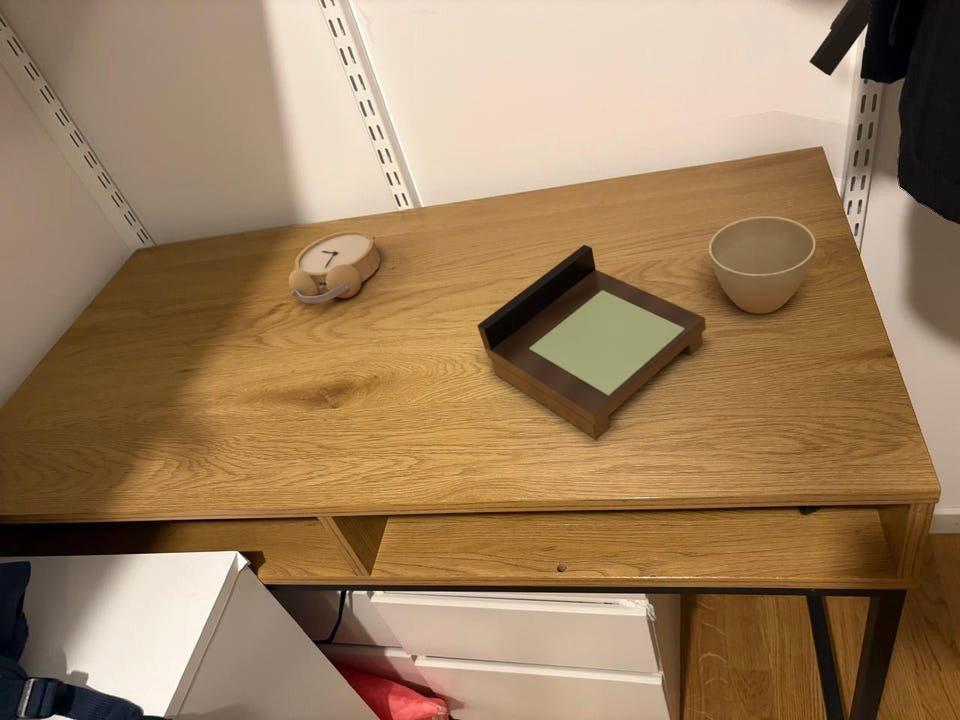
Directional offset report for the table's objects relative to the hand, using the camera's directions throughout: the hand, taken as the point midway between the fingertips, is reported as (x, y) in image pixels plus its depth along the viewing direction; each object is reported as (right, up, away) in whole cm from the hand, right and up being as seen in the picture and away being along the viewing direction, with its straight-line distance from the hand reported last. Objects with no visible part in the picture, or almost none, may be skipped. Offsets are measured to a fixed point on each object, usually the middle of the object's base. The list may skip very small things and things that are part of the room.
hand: (867, 92), depth 67 cm
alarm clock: (-55, -13, +35) cm, 66 cm away
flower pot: (-5, -18, +12) cm, 22 cm away
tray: (-23, -24, +11) cm, 35 cm away
